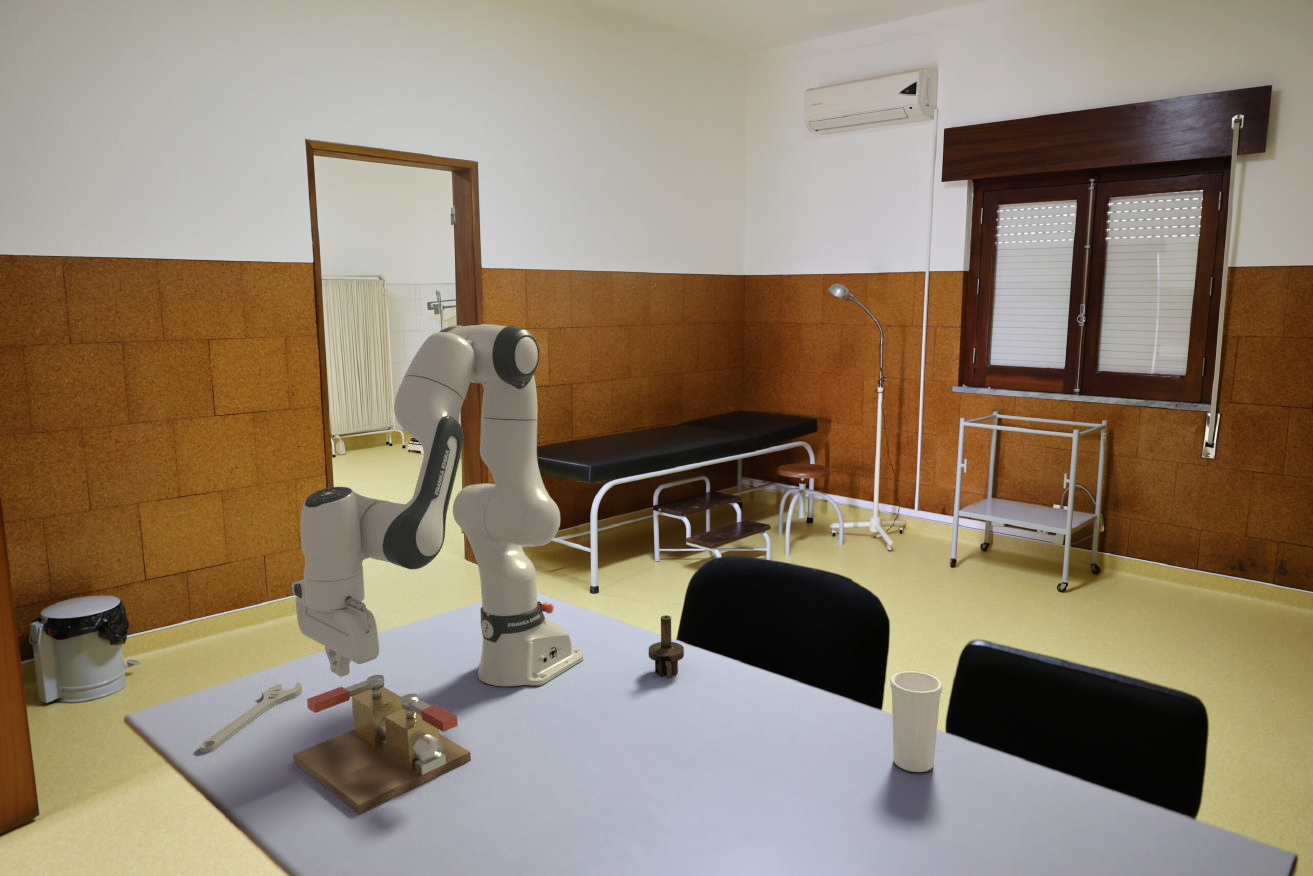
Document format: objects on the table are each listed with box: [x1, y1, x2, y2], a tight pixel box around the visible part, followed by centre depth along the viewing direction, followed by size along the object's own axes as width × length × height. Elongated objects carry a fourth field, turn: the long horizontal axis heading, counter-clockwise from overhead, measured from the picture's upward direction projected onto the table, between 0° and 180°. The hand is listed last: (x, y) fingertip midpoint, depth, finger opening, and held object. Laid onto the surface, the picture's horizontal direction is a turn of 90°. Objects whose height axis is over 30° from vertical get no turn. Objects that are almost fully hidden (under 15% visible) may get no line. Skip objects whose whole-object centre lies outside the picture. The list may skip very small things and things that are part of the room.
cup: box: [889, 670, 944, 773], centre depth 138 cm, size 8×8×14 cm
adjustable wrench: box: [199, 682, 303, 754], centre depth 159 cm, size 25×6×2 cm, turn 163°
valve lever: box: [306, 674, 385, 714], centre depth 144 cm, size 13×3×2 cm, turn 137°
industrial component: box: [648, 614, 685, 679], centre depth 175 cm, size 9×7×12 cm
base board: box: [292, 729, 472, 814], centre depth 143 cm, size 20×22×2 cm
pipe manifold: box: [351, 686, 459, 775], centre depth 142 cm, size 6×28×10 cm, turn 47°
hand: (340, 673), depth 138 cm, fingers closed
